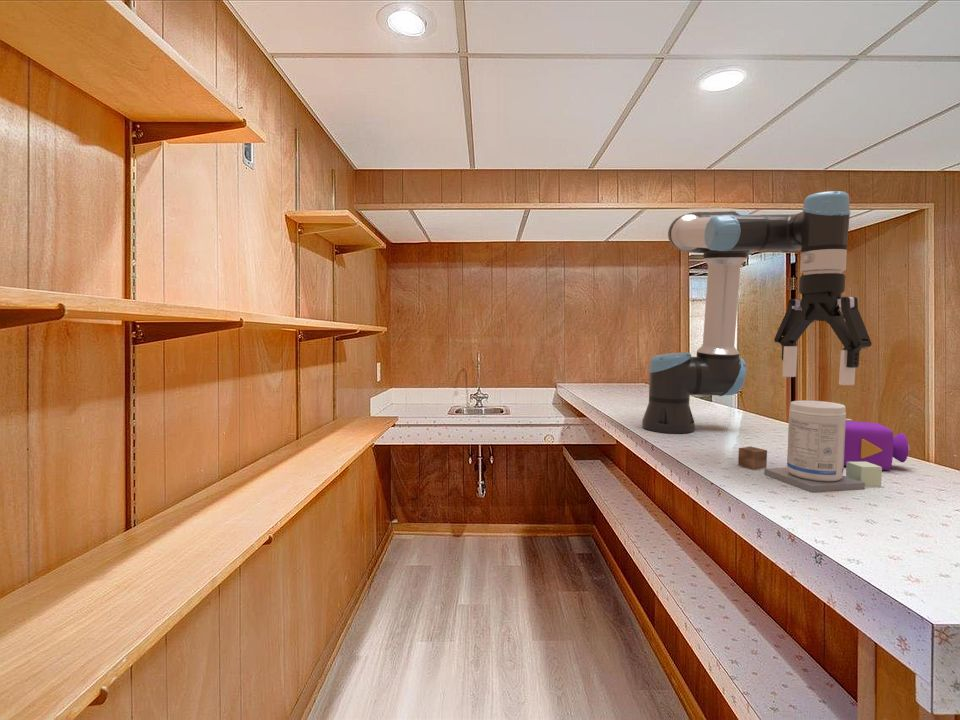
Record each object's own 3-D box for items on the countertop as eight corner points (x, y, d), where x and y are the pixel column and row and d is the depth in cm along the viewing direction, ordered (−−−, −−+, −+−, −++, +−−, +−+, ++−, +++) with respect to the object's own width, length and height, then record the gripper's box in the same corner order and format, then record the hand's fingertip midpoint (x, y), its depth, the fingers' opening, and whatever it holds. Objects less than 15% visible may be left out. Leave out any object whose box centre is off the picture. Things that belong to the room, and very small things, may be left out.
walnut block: (738, 465, 114) (738, 448, 114) (749, 463, 116) (750, 446, 116) (754, 470, 111) (755, 452, 110) (766, 468, 112) (767, 450, 112)
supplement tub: (801, 466, 108) (804, 398, 108) (852, 478, 100) (856, 404, 99) (776, 473, 103) (780, 402, 102) (828, 486, 95) (832, 408, 94)
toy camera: (919, 474, 108) (922, 428, 107) (847, 470, 111) (849, 425, 110) (889, 461, 119) (891, 419, 118) (824, 458, 121) (826, 416, 121)
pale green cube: (845, 480, 103) (846, 461, 103) (865, 480, 103) (866, 461, 103) (860, 487, 99) (861, 466, 99) (880, 487, 99) (882, 467, 99)
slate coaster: (764, 474, 107) (764, 468, 107) (812, 471, 109) (812, 466, 109) (811, 492, 95) (811, 486, 95) (864, 488, 98) (864, 482, 98)
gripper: (759, 278, 111) (754, 374, 113) (865, 266, 87) (857, 389, 88) (788, 278, 113) (783, 373, 114) (901, 267, 88) (893, 388, 90)
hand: (815, 380), depth 101 cm, fingers open, 13 cm apart
